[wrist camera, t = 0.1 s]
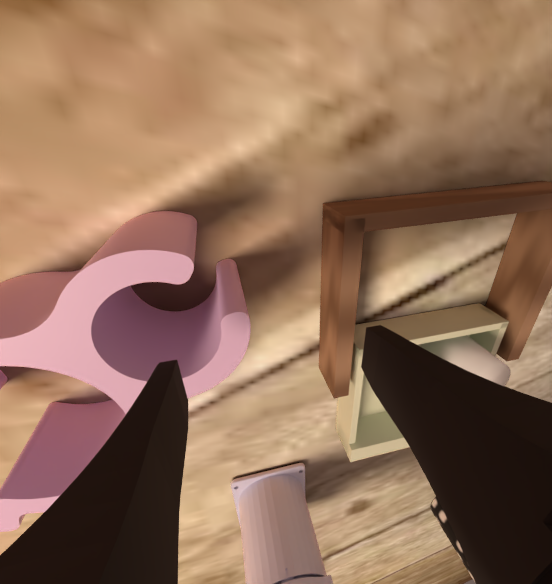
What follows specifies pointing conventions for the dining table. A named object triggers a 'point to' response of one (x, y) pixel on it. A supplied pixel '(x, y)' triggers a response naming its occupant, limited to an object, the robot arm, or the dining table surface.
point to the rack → (426, 210)
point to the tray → (418, 329)
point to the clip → (111, 345)
